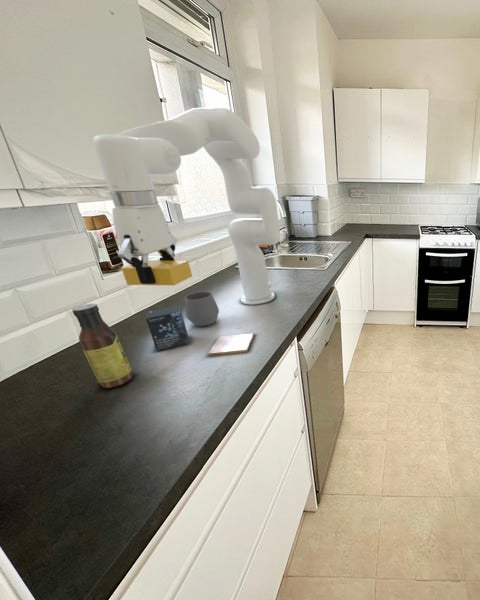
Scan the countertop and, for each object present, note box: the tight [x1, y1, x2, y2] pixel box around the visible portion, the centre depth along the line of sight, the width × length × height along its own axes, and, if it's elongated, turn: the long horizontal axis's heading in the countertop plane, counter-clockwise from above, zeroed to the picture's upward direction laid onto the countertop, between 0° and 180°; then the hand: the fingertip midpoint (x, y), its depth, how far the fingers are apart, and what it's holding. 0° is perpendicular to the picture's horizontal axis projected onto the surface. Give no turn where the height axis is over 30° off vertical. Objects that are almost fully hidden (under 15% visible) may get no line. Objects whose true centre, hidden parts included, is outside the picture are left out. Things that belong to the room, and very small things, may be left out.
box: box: [145, 305, 190, 352], centre depth 91 cm, size 8×6×11 cm
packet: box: [121, 259, 193, 286], centre depth 74 cm, size 6×11×4 cm, turn 88°
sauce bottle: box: [71, 303, 133, 389], centre depth 72 cm, size 7×6×20 cm
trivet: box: [207, 332, 255, 357], centre depth 92 cm, size 10×10×1 cm
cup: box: [184, 291, 220, 327], centre depth 104 cm, size 10×9×10 cm
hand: (160, 277), depth 74 cm, fingers closed on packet, 6 cm apart
